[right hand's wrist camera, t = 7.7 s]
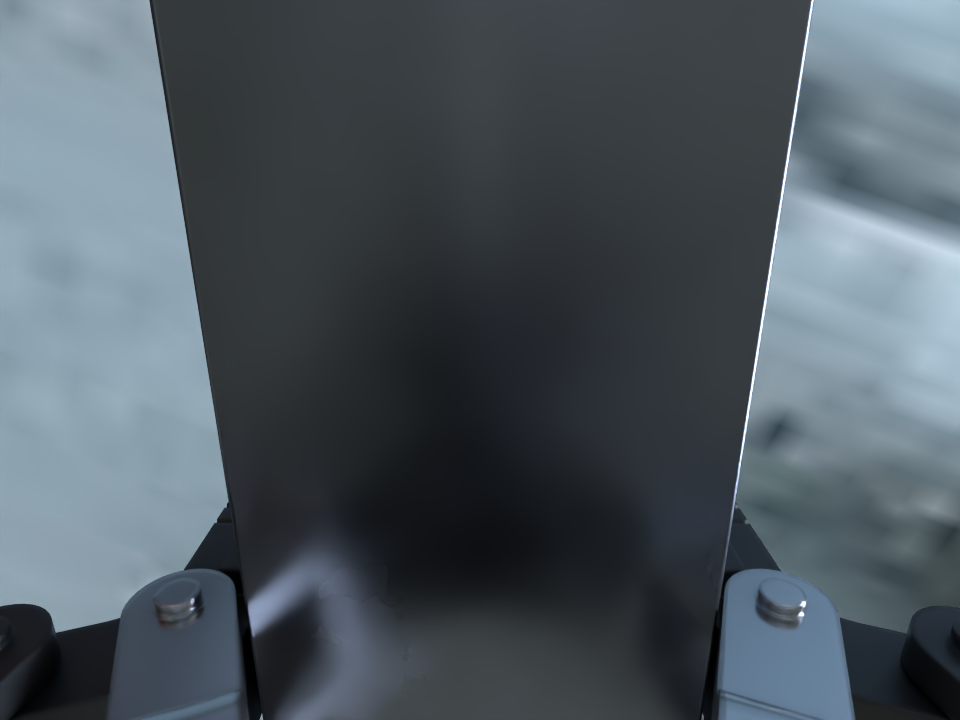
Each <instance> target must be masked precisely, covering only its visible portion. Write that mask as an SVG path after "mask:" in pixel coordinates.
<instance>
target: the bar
mask: <svg viewBox="0 0 960 720" xmlns="http://www.w3.org/2000/svg"><path fill="white" fill-rule="evenodd" d="M813 5H814V0H150V6H151V13H152V19H153V25H154V32H155V38H156V44H157V51H158V57H159V63H160V70H161V76H162V82H163V89H164V95H165V101H166V108H167V114H168V120H169V127H170V133H171V139H172V146H173V152H174V158H175V164H176V171H177V177H178V183H179V190H180V196H181V202H182V209H183V215H184V221H185V228H186V234H187V240H188V247H189V253H190V259H191V266H192V272H193V278H194V285H195V291H196V297H197V304H198V310H199V316H200V322H201V329H202V335H203V341H204V348H205V354H206V360H207V367H208V373H209V379H210V386H211V392H212V398H213V405H214V411H215V417H216V424H217V430H218V436H219V443H220V449H221V455H222V462H223V468H224V474H225V481H226V487H227V493H228V499H229V506H230V512H231V518H232V525H233V531H234V537H235V544H236V550H237V556H238V563H239V569H240V575H241V582H242V588H243V594H244V601H245V607H246V613H247V620H248V626H249V632H250V639H251V645H252V651H253V658H254V664H255V670H256V676H257V683H258V689H259V695H260V702H261V708H262V714H263V720H701V717H702V711H703V704H704V698H705V692H706V685H707V679H708V673H709V666H710V660H711V653H712V647H713V641H714V634H715V628H716V622H717V615H718V609H719V603H720V596H721V590H722V584H723V577H724V571H725V564H726V558H727V552H728V545H729V539H730V533H731V526H732V520H733V514H734V507H735V501H736V494H737V488H738V482H739V475H740V469H741V463H742V456H743V450H744V444H745V437H746V431H747V425H748V418H749V412H750V405H751V399H752V393H753V386H754V380H755V374H756V367H757V361H758V355H759V348H760V342H761V336H762V329H763V323H764V316H765V310H766V304H767V297H768V291H769V285H770V278H771V272H772V266H773V259H774V253H775V246H776V240H777V234H778V227H779V221H780V215H781V208H782V202H783V196H784V189H785V183H786V177H787V170H788V164H789V157H790V151H791V145H792V138H793V132H794V126H795V119H796V113H797V107H798V100H799V94H800V87H801V81H802V75H803V68H804V62H805V56H806V49H807V43H808V37H809V30H810V24H811V18H812V11H813Z"/></svg>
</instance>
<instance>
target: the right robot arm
mask: <svg viewBox="0 0 960 720" xmlns="http://www.w3.org/2000/svg"><path fill="white" fill-rule="evenodd" d="M702 713H703V716H704V720H960V608H956V607H949V606H932V607H927V608H923V609H921V610H919V611H917V612H916V613H915V614H914V615H913V617H912V619H911V622H910V625H909V629H908V632H907V634H906V633H901V632H897V631H892V630H888V629H883V628H879V627H874V626H870V625H865V624H861V623H857V622H853V621H849V620H846V619H843V618H840V617H839V614H838V611H837V609H836V607H835V605H834V604H833V602H832V601H831V600H830V599H829V597H828V596H826V595H825V594H824V593H823V592H822V591H821V590H819V589H818V588H817V587H815V586H814V585H812V584H810V583H809V582H807V581H805V580H803V579H801V578H799V577H796V576H794V575H791V574H788V573H785V572H781V570H780V569H779V567H778V566H777V564H776V563H775V561H774V560H773V558H772V557H771V555H770V554H769V552H768V551H767V549H766V548H765V546H764V545H763V543H762V542H761V540H760V539H759V537H758V536H757V534H756V533H755V531H754V530H753V528H752V527H751V525H750V524H747V519H746V517H745V516H744V514H743V513H742V511H741V510H740V509H738V508H737V504H736V502H735V507H734V514H733V520H732V526H731V533H730V539H729V545H728V552H727V558H726V564H725V571H724V577H723V584H722V590H721V596H720V603H719V609H718V615H717V622H716V628H715V634H714V641H713V647H712V653H711V660H710V666H709V673H708V679H707V685H706V692H705V698H704V704H703V711H702ZM261 714H262V708H261V702H260V695H259V689H258V683H257V676H256V670H255V664H254V658H253V651H252V645H251V639H250V632H249V626H248V620H247V613H246V607H245V601H244V594H243V588H242V582H241V575H240V569H239V563H238V556H237V550H236V544H235V537H234V531H233V525H232V518H231V512H230V506H229V502H228V503H227V508H224V510H223V511H222V513H221V514H220V516H219V517H218V519H217V523H214V525H213V526H212V528H211V529H210V531H209V532H208V534H207V536H206V537H205V539H204V540H203V542H202V543H201V545H200V546H199V548H198V549H197V551H196V552H195V554H194V555H193V557H192V558H191V560H190V562H189V563H188V565H187V566H186V568H185V569H184V571H179V572H175V573H172V574H169V575H166V576H164V577H161V578H159V579H157V580H155V581H153V582H151V583H150V584H148V585H146V586H145V587H143V588H142V589H141V590H139V591H138V592H137V593H136V594H135V595H134V596H133V597H131V599H130V600H129V601H128V602H127V604H126V605H125V607H124V609H123V611H122V614H121V618H119V619H115V620H111V621H108V622H103V623H99V624H94V625H90V626H85V627H81V628H76V629H72V630H67V631H63V632H58V633H56V632H55V629H54V625H53V622H52V618H51V616H50V614H49V613H48V612H47V611H46V610H45V609H43V608H42V607H40V606H36V605H31V604H13V605H6V606H1V607H0V720H259V719H260V717H261Z"/></svg>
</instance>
